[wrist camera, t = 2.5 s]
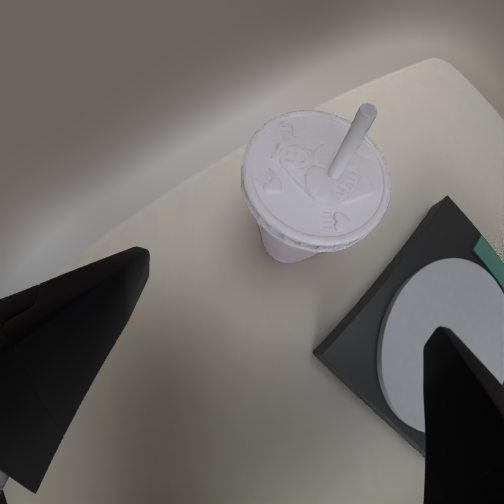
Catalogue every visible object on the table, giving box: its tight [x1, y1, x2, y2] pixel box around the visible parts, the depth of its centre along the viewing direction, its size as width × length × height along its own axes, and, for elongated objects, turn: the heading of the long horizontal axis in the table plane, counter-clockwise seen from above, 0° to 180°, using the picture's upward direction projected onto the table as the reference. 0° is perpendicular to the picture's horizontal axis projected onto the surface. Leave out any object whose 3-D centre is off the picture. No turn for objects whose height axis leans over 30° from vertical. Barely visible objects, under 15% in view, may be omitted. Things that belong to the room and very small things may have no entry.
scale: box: [313, 196, 504, 457], centre depth 19 cm, size 15×14×3 cm
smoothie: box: [241, 103, 391, 263], centre depth 15 cm, size 6×6×14 cm
